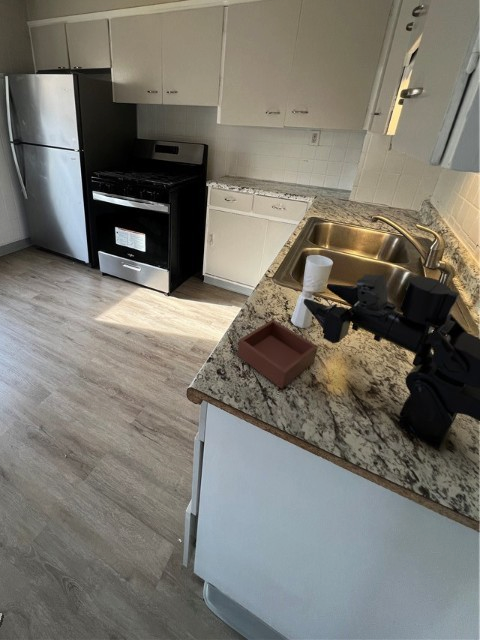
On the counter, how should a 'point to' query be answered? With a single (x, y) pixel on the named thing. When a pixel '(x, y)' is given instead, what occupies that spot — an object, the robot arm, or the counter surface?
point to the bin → (277, 352)
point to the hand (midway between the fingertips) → (316, 292)
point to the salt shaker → (303, 309)
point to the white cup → (317, 272)
